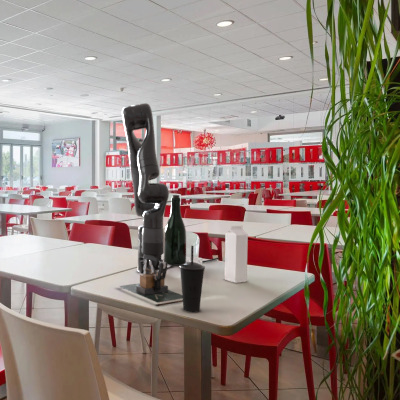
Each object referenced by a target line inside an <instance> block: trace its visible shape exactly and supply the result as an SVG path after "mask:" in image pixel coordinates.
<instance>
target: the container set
mask: <svg viewBox="0 0 400 400" xmlns="http://www.w3.org/2000/svg"><path fill="white" fill-rule="evenodd" d="M202 261H203V258H202V257H197V256H196V257H195V256H193V262H195V263H199V264H201V265H202V266H203V263H202ZM188 262H191V257H189V258H188Z"/></svg>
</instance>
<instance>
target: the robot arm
mask: <svg viewBox="0 0 400 400" xmlns="http://www.w3.org/2000/svg"><path fill="white" fill-rule="evenodd" d="M121 118H122V126H123V129H124V134H125V139H126V145H127V151H128V160H129V161H128V162H129V169H130V175H131V180H132V181H131V182H132V187H133V200H134V203H133V204H134V211H135V212H134V213H135V214H136V216H137V217H140V218H142V224H141V225H139V226H138V228H137V232H138V233H137V265H136V267H137V273H140V275H143V274H153V275H154V290H155V291H160V289H161V279H166V276H167V270H168V269H171V268H174V267H179V266H180V265H181V264H175V265H170V266H168V265H169V264H167V262H165V263H164V259H162V255H164V237H165V231H164V215H165V211H166V206H167V204H168V200H169V198H170V197H169V196H170V191H169V188H168V185H167V184H166V183H162V182H151V183H150V181H154V180H155V179H157V178H159V176H160V168H159V162H158V158H157V152H156V137H155V126H154V115H153V110H152V108H151V105H150V104H149V103H147V102H145V103H139V104H138V103H137V104H132V105H127V106H124V107H123V108H122V110H121ZM139 130H145V134H144V137H143V140H142V142H140V141H139V139H138V138H137V136H136V135H135V133H134V131H139ZM219 259H220V257H214V258H211V259H205V260H202V264H203V263H208V262H212V261H216V260H219ZM183 264H184V263H183ZM156 273H158V276H157V274H156ZM161 274H162V276H161Z"/></svg>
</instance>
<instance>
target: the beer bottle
mask: <svg viewBox="0 0 400 400" xmlns="http://www.w3.org/2000/svg"><path fill="white" fill-rule="evenodd" d="M169 213H170V214H169V217H168V219H167V222H166V225H165V229H164V253H163V262H164V263H165V262H167V264H168V265H170V266H172V265H175V264H183V263H187V230H186V226H185V222H184V220H183V217H182V212H181V197H180V195H179V194H172V195H171V198H170V212H169Z"/></svg>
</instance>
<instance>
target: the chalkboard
mask: <svg viewBox="0 0 400 400" xmlns="http://www.w3.org/2000/svg"><path fill="white" fill-rule="evenodd" d="M136 286H140V282H139V283H133V284H124V285H119V286H118V287H119V288H122V289H124V290H127V291H128V292H131V293H134V294H136V295H139V296H141V297H142V298H146V299H147V300H150V301H152V302H155V303H157V304H155V306H156V307H159V306H165V305H166V306H167V305H172V304H177V303H183V297H182V293H181V294H180V293H178V292H176V291H173V290H170V289H168V292H162V293H155V294H149V295H143V294H141V293H138V292H136ZM180 299H181V300H180Z"/></svg>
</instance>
